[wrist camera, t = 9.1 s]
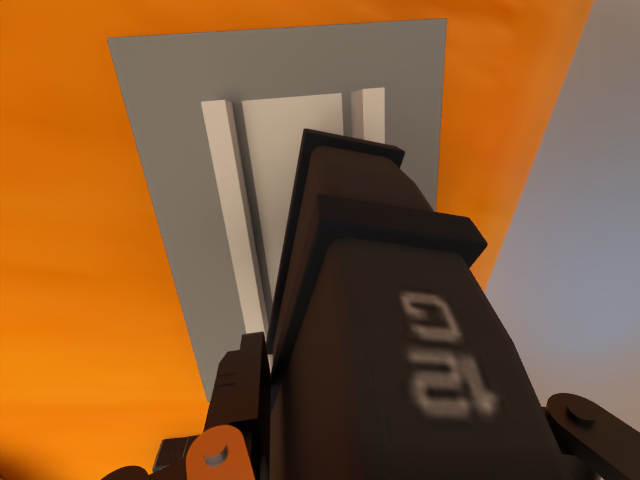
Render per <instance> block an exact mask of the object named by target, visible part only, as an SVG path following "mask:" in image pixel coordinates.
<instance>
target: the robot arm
mask: <svg viewBox="0 0 640 480" xmlns="http://www.w3.org/2000/svg"><path fill="white" fill-rule="evenodd" d="M542 410H543V412H544V414H545V416H546V419H547V421H548V423H549V426H550V428H551V430H552V433H553V435H554V437H555V439H556V442H557V444H558V446H559V449H560V451H561V453H562V455H563V458H564V460H565V462H566V465H567V467H568V469H569V472H570V474H571V476H572V478H573V480H600V479H601V477H602V478H603V479H604V480H640V432H638V431H636V430H635V429H633V428H632V427H630V426H629V425H627V424H626V423H624V422H623V421H621V420H620V419H618V418H617V417H615V416H614V415H612V414H611V413H609V412H608V411H606V410H605V409H603V408H602V407H600V406H598V405H597V404H595V403H594V402H592V401H590V400H588V399H586V398H583V397H581V396H577V395H574V394H568V393H559V394H554V395H552V396H551V397H550V398H549V399H548V402H547V405H546V407H542ZM270 420H271V374H270V365H269V359H268V353H267V347H266V341H265V335H264V332H263V331H262V332H254V333H247V334H242V337H241V344H240V350H234V351H228V352H227V353H226V354H225V356H224V357H223V358H222V360H221V361H220V362H219V365H218V370H217V374H216V379H215V383H214V389H213V392H212V396H211V400H210V405H209V409H208V414H207V418H206V422H205V427H204V431H203V433H202V434H201V435H200V436H198V437H197V439H196V440H195V441H194V442H193V443H192V445H191V446H190V448H189V450H188V453H187V455H186V456H184V457H183V458H182V459H180V460H179V461H177V462H175V463H173V464H171V465H169V466H167V467H165V468H163V469H161V470H158V471H156V472H154V473H152V474H150V475H148V473H147V472H146V470H145V469H143V468H141V467H139V466H126V467H123V468H120V469H117V470H115V471H113V472H111V473H110V474H108V475H107V476H105V477H104V478H102V479H101V480H270Z"/></svg>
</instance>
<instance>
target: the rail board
mask: <svg viewBox="0 0 640 480" xmlns="http://www.w3.org/2000/svg"><path fill="white" fill-rule="evenodd" d="M446 24H447V18H442V19H424V20H407V21H390V22H373V23H356V24H338V25H321V26H304V27H287V28H270V29H252V30H235V31H218V32H201V33H184V34H167V35H149V36H132V37H115V38H107V42H108V45H109V49H110V52H111V56H112V60H113V63H114V67H115V70H116V74H117V78H118V81H119V85H120V88H121V92H122V96H123V99H124V103H125V106H126V110H127V113H128V117H129V121H130V124H131V128H132V131H133V135H134V139H135V142H136V146H137V149H138V153H139V157H140V160H141V164H142V167H143V171H144V175H145V178H146V182H147V185H148V189H149V193H150V196H151V200H152V203H153V207H154V211H155V214H156V218H157V221H158V225H159V229H160V232H161V236H162V239H163V243H164V247H165V250H166V254H167V257H168V261H169V265H170V268H171V272H172V275H173V279H174V283H175V286H176V290H177V293H178V297H179V301H180V304H181V308H182V311H183V315H184V318H185V322H186V326H187V329H188V333H189V336H190V340H191V344H192V347H193V351H194V354H195V358H196V362H197V365H198V369H199V372H200V376H201V380H202V383H203V387H204V390H205V394H206V398H207V401H208V402H210V400H211V396H212V392H213V389H214V383H215V379H216V374H217V370H218V365H219V362H220V361H221V360H222V358H223V357H224V356H225V354H226V353H227V352H228V351H234V350H240V344H241V337H242V334H247V333H254V332H262V331H263V332H264V335H265V341H266V339H267V333H268V328H269V322H270V316H271V311H272V305H273V299H274V294H275V288H276V282H277V276H278V271H279V265H280V259H281V254H282V248H283V242H284V237H285V231H286V225H287V220H288V214H289V208H290V202H291V197H292V191H293V185H294V180H295V174H296V168H297V163H298V157H299V151H300V146H301V140H302V134H303V130H304V128H307V129H312V130H318V131H323V132H328V133H333V134H338V135H343V136H348V137H353V138H358V139H363V140H368V141H373V142H378V143H383V144H388V145H393V146H397V147H398V148H400V149H402V150H404V151H405V156H404V158H403V161H402V164H401V167H400V169H401V170H402V171H403V172H404V173H405V174H406V175H407V176H408V177H409V178H410V179H411V180H413V181H414V182H415V184H416V185H417V187H418V188H419V190H420V191H421V192H422V194H423V195H424V197H425V198H426V200H427V201H428V203H429V204H430V206H431V207H432V209H433V210H434V212H436V197H437V179H438V162H439V145H440V128H441V110H442V93H443V76H444V59H445V41H446ZM268 359H269V365H270V373H271V369H272V365H273V355H268Z"/></svg>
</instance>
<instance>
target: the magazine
mask: <svg viewBox="0 0 640 480" xmlns="http://www.w3.org/2000/svg"><path fill="white" fill-rule="evenodd" d="M404 156H405V151H404V150H402V149H400V148H398V147H397V146H393V145H388V144H383V143H378V142H373V141H368V140H363V139H358V138H353V137H348V136H343V135H338V134H333V133H328V132H323V131H318V130H312V129H307V128H304V130H303V134H302V140H301V146H300V151H299V157H298V163H297V168H296V174H295V180H294V185H293V191H292V197H291V202H290V208H289V214H288V220H287V225H286V231H285V237H284V242H283V248H282V254H281V259H280V265H279V271H278V276H277V282H276V288H275V294H274V299H273V305H272V311H271V316H270V322H269V328H268V333H267V339H266V347H267V353H268V355H273V365H272V369H271V373H270V374H271V420H270V480H573V478H572V476H571V474H570V472H569V469H568V467H567V465H566V462H565V460H564V458H563V455H562V453H561V451H560V449H559V446H558V444H557V442H556V439H555V437H554V435H553V433H552V430H551V428H550V426H549V423H548V421H547V419H546V416H545V414H544V412H543V410H542V407H541V405H540V403H539V400H538V398H537V396H536V394H535V391H534V389H533V387H532V384H531V382H530V380H529V378H528V375H527V373H526V371H525V368H524V366H523V364H522V361H521V359H520V357H519V355H518V352H517V350H516V348H515V345H514V343H513V341H512V339H511V338H510V336H509V334H508V333H507V331H506V329H505V328H504V326H503V324H502V323H501V321H500V319H499V318H498V316H497V314H496V313H495V311H494V309H493V308H492V306H491V304H490V303H489V301H488V299H487V298H486V296H485V294H484V292H483V291H482V289H481V287H480V286H479V284H478V282H477V281H476V279H475V277H474V276H473V274H472V272H471V271H470V269H469V268H470V267H471V266H472V264H473V263H474V262H475V261H476V259H477V258H478V257H479V256H480V254H481V253H482V252H483V251H484V249H485V248H486V247H487V245H488V244H487V242H486V240H485V239H484V238H483V236H482V235H481V233H480V232H479V230H478V229H477V228H476V226H475V225H474V223H473V222H472V221H471V219H470V218H468V217H463V216H457V215H450V214H444V213H438V212H434V210H433V209H432V207H431V206H430V204H429V203H428V201H427V200H426V198H425V197H424V195H423V194H422V192H421V191H420V190H419V188H418V187H417V185H416V184H415V182H414V181H413V180H411V179H410V178H409V177H408V176H407V175H406V174H405V173H404V172H403V171H402V170H401V169H400V167H401V164H402V161H403V158H404Z"/></svg>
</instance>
